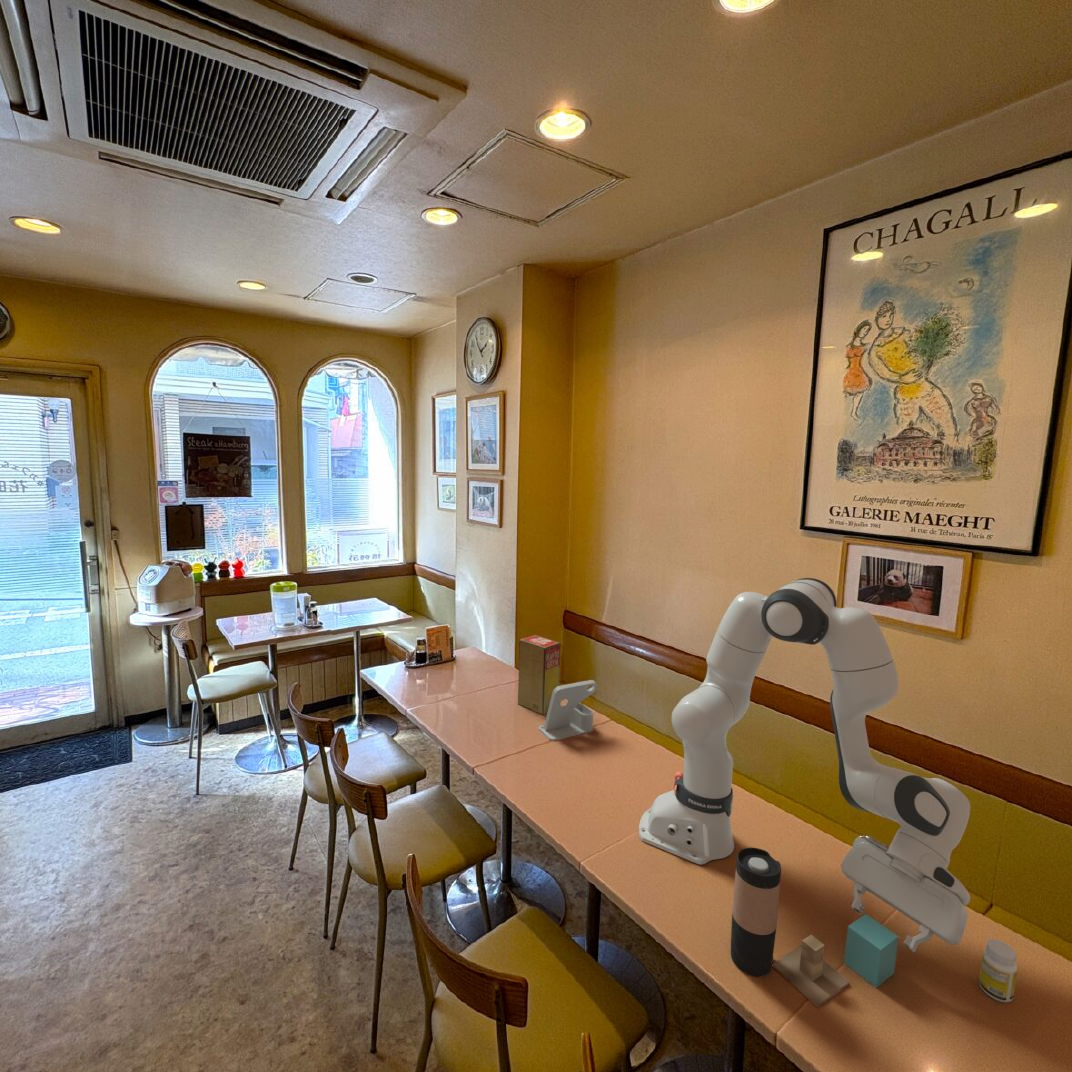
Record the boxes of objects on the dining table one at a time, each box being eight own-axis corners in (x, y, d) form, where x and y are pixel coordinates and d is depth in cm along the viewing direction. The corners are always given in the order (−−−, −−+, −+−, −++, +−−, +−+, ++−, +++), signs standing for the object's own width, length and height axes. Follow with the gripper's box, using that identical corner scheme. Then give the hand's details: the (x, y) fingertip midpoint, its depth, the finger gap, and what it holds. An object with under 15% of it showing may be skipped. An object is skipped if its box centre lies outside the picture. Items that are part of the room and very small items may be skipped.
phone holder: (580, 718, 200) (582, 670, 198) (596, 731, 192) (598, 680, 189) (537, 728, 193) (538, 677, 190) (551, 742, 184) (553, 689, 181)
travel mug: (728, 969, 103) (735, 869, 100) (729, 937, 110) (737, 842, 107) (773, 984, 100) (782, 881, 97) (772, 949, 107) (780, 853, 104)
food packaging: (560, 707, 209) (561, 642, 205) (542, 715, 202) (544, 648, 199) (533, 696, 218) (535, 634, 214) (516, 704, 211) (517, 639, 208)
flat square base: (772, 966, 103) (775, 934, 103) (803, 945, 108) (806, 915, 107) (818, 1007, 96) (821, 973, 95) (849, 983, 100) (852, 951, 99)
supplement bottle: (997, 978, 102) (1003, 936, 101) (1020, 1003, 97) (1027, 960, 96) (971, 978, 102) (977, 937, 101) (993, 1003, 97) (999, 960, 96)
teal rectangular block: (844, 962, 105) (848, 926, 104) (862, 949, 107) (866, 913, 106) (875, 988, 100) (880, 950, 99) (893, 973, 103) (898, 936, 102)
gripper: (855, 824, 115) (821, 885, 111) (972, 890, 97) (937, 965, 94) (865, 837, 118) (833, 897, 114) (981, 904, 100) (947, 977, 97)
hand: (881, 929), depth 104 cm, fingers open, 8 cm apart
